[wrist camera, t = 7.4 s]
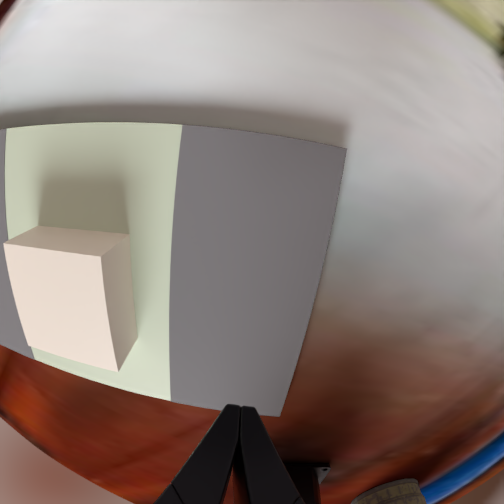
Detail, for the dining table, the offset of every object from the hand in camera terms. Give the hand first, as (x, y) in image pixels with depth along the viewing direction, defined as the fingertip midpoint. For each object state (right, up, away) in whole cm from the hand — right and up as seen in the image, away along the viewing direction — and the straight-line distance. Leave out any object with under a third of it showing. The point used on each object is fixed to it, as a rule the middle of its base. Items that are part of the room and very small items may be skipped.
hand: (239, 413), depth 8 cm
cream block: (-9, +3, +7) cm, 11 cm away
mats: (-9, +4, +7) cm, 12 cm away
